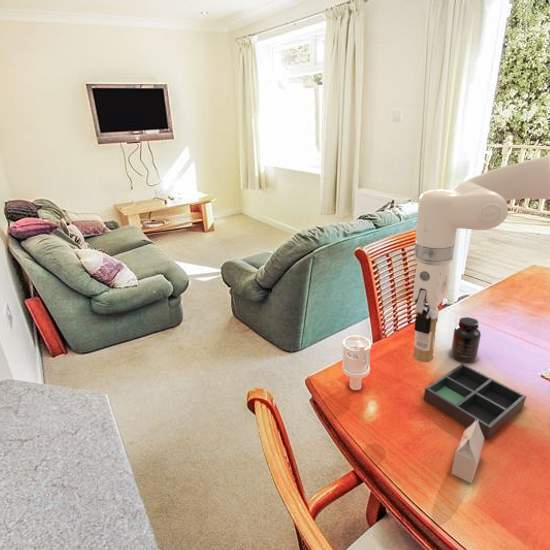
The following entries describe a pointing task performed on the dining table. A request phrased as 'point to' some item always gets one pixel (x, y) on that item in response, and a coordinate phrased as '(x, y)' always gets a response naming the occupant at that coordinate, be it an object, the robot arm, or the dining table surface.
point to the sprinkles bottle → (426, 340)
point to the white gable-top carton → (468, 453)
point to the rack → (475, 399)
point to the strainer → (356, 360)
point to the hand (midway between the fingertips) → (426, 325)
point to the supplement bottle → (466, 340)
